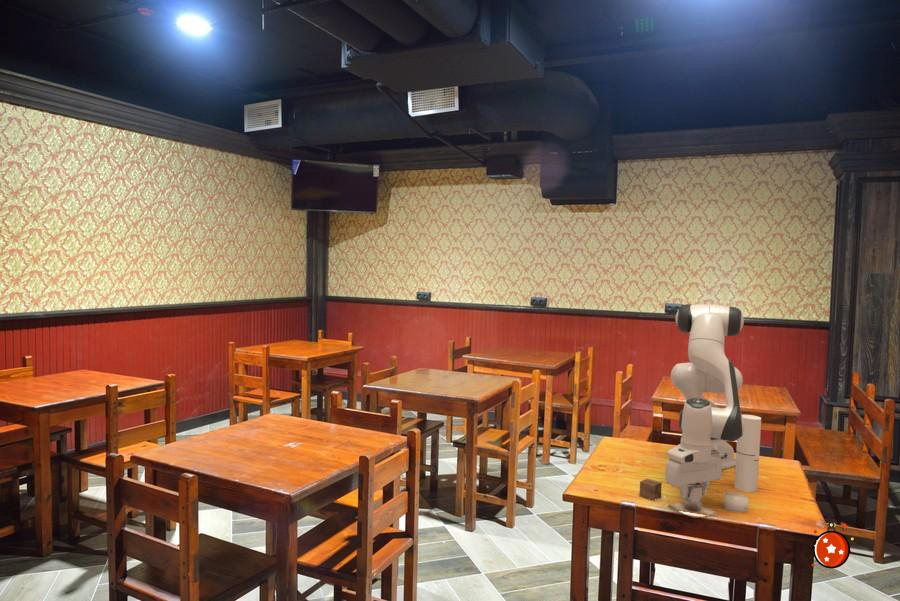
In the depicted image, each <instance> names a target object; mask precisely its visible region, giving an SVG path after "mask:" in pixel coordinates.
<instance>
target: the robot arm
mask: <svg viewBox="0 0 900 601" xmlns="http://www.w3.org/2000/svg"><path fill="white" fill-rule="evenodd" d="M744 320H745V319H744V316H743V313H742V310H740V308H738V307H735V306H731V305H730V306H726V305H720V304H712V303H711V304H691V303H688V304H687V303H685V304H682V305H680V306H679V307H678V310H677V312H676V314H675V323H676V324H675V325H676V326H677V329H678V330H679V331H680V332H682V333H685V334H689V336H688V344H687V345H688V347H687V353H688V354H687V356H688V359H689V362H681V363H676V364H675V365H674V366H673V367H672V369H671V372H670V379H671V383H672V384H673V386H674V387H675V388H676V389H677V390H679V391H680V392H681V394H682V395H683V397H684V398H685V401H684V404H683V405H684V406H683V408H682V409H681V410H679V417H678V418H679V420H678V422H679V423H678V427H679V429H680V430H681V431H682V435H681V437H680V444H679V443H678V445H676V446H674V447H672V448H670V449H669V450H668V451H667V453H666V457H667V458H668V459H667V461H666V463H665V464H666V465H665V473H664V475H665V476H664V477H665V478H664V479H665V482H666V483H667V484H669V485H670V486H672V487H677V489H678V490H679V497H680V498H681V499H685V498H688V493H687V492H686V491H685V488H686V485H688V484H694V483H699V484H700V485H701V486H702V497H703V496H706V495H707V490H708V488H709V487H710V483H711V482H712V481H719V480H721V478H722V476H723V470H726V469H729V468H732V467H735V466H736V457H735V451H734V448H733V446H732V445H731V444H729V443H728V442H730V443H732V442H733V443H734V442H735V441H736V442H737V439H739V438H740V437H742V435H743V432H744V420H743V417H742V415H743V414H742V411H741V404H740V402H741V401H740V396H739V391H740V390H741V388H742V386H743V383H744V379H743V374H742V373H741V371H740V370H739V368H737V367H735V365H734V363H733V362H732V361H731V360H730V359H728V357H727V356H726V353H725V340H726V339H725V336H726V337H735V336H737V335H739V334H740V333H741V331H742V329H743V327H744V323H745V321H744ZM704 393H710V394H711V393H713V394H724V396H725V403H726V404H725V405H726V406H725V407H722V408H721V407H718V405H716V404H715V403H714V402H712V401H711V400H708V399H707V398H706V397H705V396H704V395H703V394H704Z"/></svg>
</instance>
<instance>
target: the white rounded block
mask: <svg viewBox="0 0 900 601" xmlns="http://www.w3.org/2000/svg"><path fill="white" fill-rule="evenodd" d="M722 504H723V505H722V508H723V509H725V510H727V511H729V512H732V513H741V514H743V513H747V512H748V511H749V497H748V496H747V495H746V494H743V493H739V492H732V491H727V492H724V493H723V502H722Z"/></svg>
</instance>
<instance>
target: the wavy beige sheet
mask: <svg viewBox="0 0 900 601" xmlns="http://www.w3.org/2000/svg"><path fill="white" fill-rule="evenodd" d="M667 508H669V509H671V510H673V511H675V510H677V511H683V512H690V513H697V514H703V515H714V516H716V515H715V514H717V515H718V512H717V511H715V510H713V509H712V508H709V507H707V506H704V505H703V504H702V506H701V511H690V510H687V509H685V508H684V501H682V502H675V503H670V504H668V505H667ZM677 511H676V512H677Z"/></svg>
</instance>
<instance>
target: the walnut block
mask: <svg viewBox="0 0 900 601" xmlns="http://www.w3.org/2000/svg"><path fill="white" fill-rule="evenodd" d="M662 486H663V485H662V482H661V481H659V480H655V479H651V478H645V479H643V480H641V481H639V493H638V496H639V497H640V498H644V499H647V500H649V499H650V500H649V501H653V500H654V501H656V500H658V499H660V498H662ZM657 498H658V499H657ZM655 499H656V500H655Z"/></svg>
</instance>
